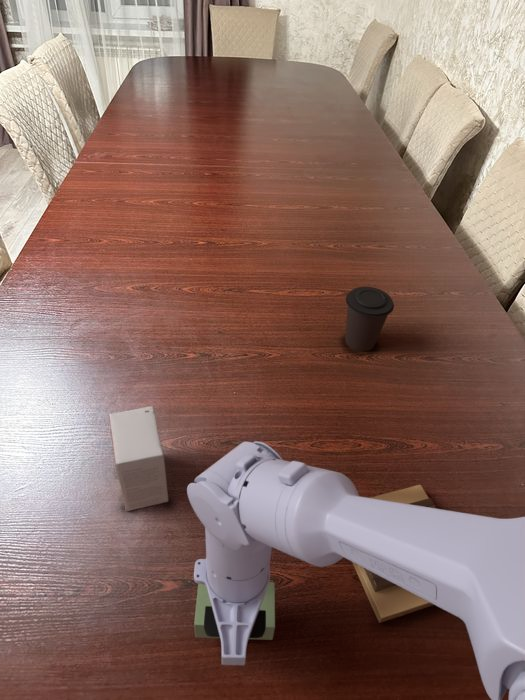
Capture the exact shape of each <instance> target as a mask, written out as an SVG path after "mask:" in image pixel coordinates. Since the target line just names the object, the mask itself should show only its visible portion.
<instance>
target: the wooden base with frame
mask: <svg viewBox="0 0 525 700" xmlns="http://www.w3.org/2000/svg"><path fill="white" fill-rule="evenodd" d="M370 498H373V499H379V500H385V501H392V502H398V503H404V504H411V505H417V506H423V507H429V508H436V509H438V508H437V507H436V505H435V503H434V500H433V499H432V498H431V497H429V496H428V494H427V493H426V491H425V489H424V487H423V486H422V485H421V484H416V485H413V486H409V487H405V488H403V489H402V488H401V489H397V490H394V491H390V492H387V493H382V494H378V495H375V496H370ZM351 563H352V565H353V568H354V570H355V572H356V574H357V577H358V579H359V581H360V583H361V586H362V587H363V590H364V592H365V595H366V596H367V599H368V601H369V604H370V606H371V608H372V610H373V613H374V615H375V617H376V619H377V622H378V623H379V624H381V623H384V622H387V621H390V620H393V619H396V618H399V617H402V616H405V615H408V614H411V613H414V612H418V611H420V610H424V609H426V608H429V607H432V606H435V605H434V604H432V603H430V602H428V601H426V600H424V599H423V598H421V597H419V596H417V595H415V594H413V593H411V592H409V591H407V590H405V589H403V588H401V587H400V586H398V585H396V584H394V583H392V582H390V581H388V580H386V579H384V578H382V577H380V576H379V575H377V574H375V573H373V572H371V571H369V570H367V569H365V568H363V567H361V566H359V565H358V564H356V563H354V562H352V561H351Z"/></svg>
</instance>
